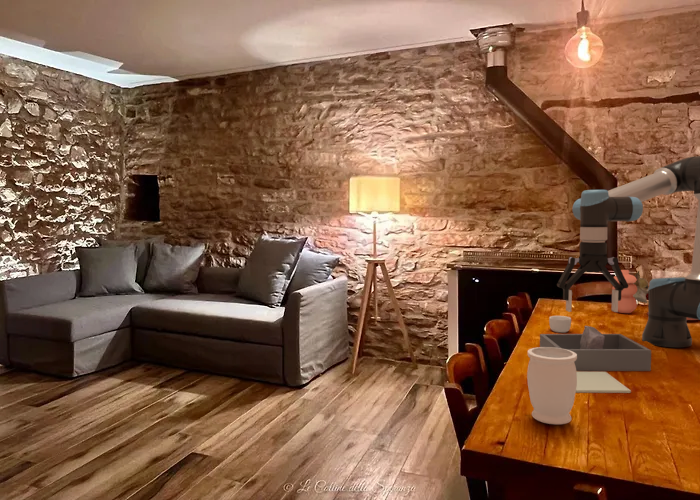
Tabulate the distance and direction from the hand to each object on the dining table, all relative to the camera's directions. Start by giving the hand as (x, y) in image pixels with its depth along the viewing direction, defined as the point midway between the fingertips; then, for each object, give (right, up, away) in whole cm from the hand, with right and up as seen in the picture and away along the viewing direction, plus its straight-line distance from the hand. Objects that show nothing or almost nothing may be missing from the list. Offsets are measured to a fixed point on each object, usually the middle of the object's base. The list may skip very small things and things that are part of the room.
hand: (591, 311), depth 165 cm
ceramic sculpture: (+68, -7, +100) cm, 121 cm away
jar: (-28, -19, -43) cm, 55 cm away
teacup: (+7, -13, +42) cm, 44 cm away
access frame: (+1, -15, +1) cm, 15 cm away
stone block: (+1, -16, +1) cm, 16 cm away
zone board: (-10, -17, -19) cm, 27 cm away
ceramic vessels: (+60, -9, +71) cm, 94 cm away
